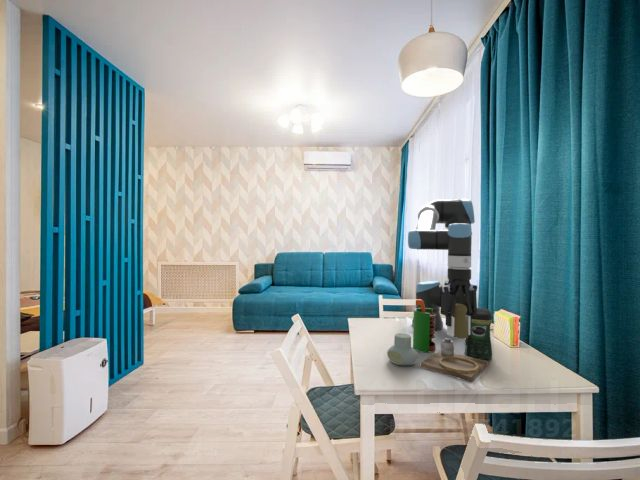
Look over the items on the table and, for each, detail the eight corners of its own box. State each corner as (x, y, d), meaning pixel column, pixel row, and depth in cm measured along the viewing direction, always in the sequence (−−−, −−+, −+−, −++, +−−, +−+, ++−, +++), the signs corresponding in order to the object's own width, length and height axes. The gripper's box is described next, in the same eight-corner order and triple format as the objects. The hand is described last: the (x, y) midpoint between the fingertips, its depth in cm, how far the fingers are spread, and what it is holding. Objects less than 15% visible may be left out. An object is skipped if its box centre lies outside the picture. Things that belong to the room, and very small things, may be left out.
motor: (437, 353, 126) (437, 303, 126) (413, 351, 128) (414, 302, 127) (433, 345, 136) (434, 298, 136) (411, 343, 138) (412, 297, 137)
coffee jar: (491, 354, 125) (491, 307, 125) (493, 362, 118) (493, 311, 117) (463, 351, 129) (464, 305, 129) (464, 357, 121) (464, 309, 121)
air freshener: (383, 360, 118) (383, 333, 118) (397, 355, 123) (398, 330, 123) (407, 370, 110) (408, 341, 109) (422, 364, 115) (422, 337, 114)
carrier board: (441, 353, 126) (441, 334, 126) (488, 365, 114) (488, 344, 114) (420, 366, 113) (420, 345, 113) (471, 381, 101) (471, 358, 101)
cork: (460, 339, 106) (460, 306, 106) (445, 334, 112) (445, 303, 112) (472, 337, 109) (472, 305, 109) (457, 332, 114) (457, 301, 114)
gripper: (443, 269, 104) (442, 340, 104) (489, 268, 110) (489, 335, 110) (429, 267, 111) (428, 333, 111) (473, 266, 117) (472, 329, 117)
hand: (458, 334), depth 110 cm, fingers closed on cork, 6 cm apart
